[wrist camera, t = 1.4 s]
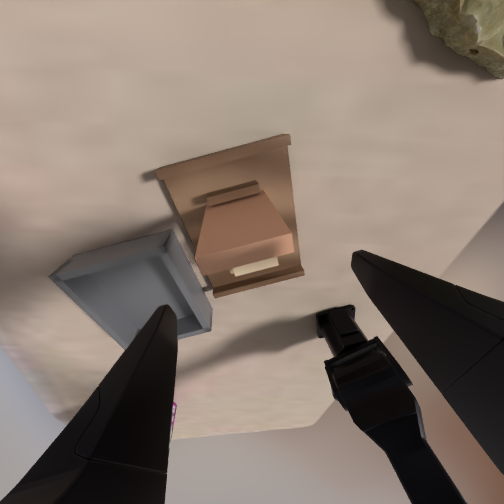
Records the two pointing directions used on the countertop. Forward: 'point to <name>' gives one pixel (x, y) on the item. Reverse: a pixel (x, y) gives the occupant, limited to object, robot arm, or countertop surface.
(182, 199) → the rack
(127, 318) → the tray
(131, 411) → the robot arm
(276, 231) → the slat
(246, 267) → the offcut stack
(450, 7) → the decorative tile
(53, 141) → the countertop surface
